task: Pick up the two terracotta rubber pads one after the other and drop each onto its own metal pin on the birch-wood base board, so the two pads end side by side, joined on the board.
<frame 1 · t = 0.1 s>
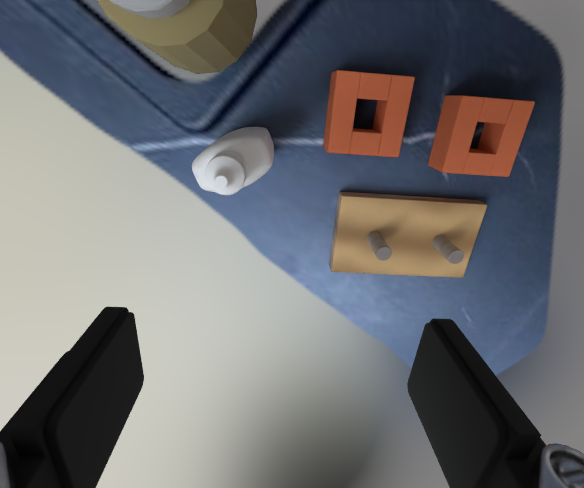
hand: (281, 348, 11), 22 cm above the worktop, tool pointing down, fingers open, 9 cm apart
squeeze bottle: (207, 17, 25), on the worktop
pad b: (467, 134, 29), on the worktop
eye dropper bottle: (242, 148, 29), on the worktop
base board: (401, 233, 33), on the worktop
pad a: (361, 114, 28), on the worktop
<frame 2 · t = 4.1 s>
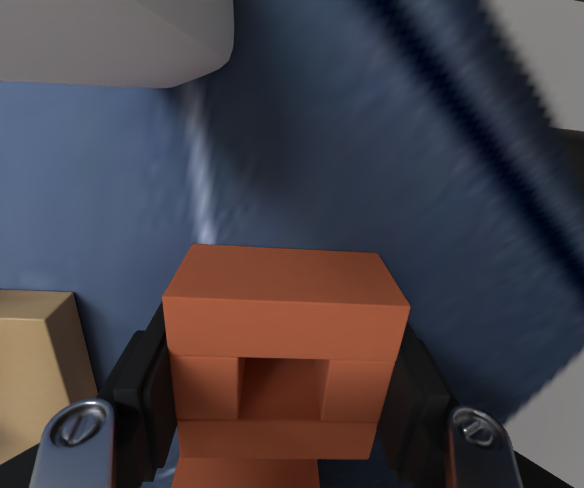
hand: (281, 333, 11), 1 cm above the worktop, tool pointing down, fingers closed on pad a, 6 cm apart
pad b: (248, 487, 16), on the worktop
base board: (8, 429, 14), on the worktop
pad a: (281, 322, 12), on the worktop, touching gripper
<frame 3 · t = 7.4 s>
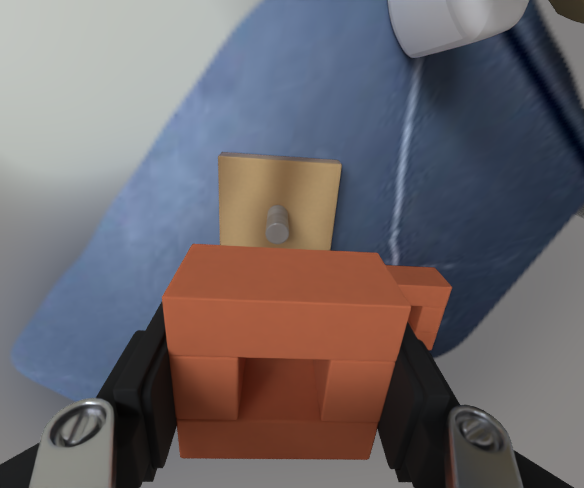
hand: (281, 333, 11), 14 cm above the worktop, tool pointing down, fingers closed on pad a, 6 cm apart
pad b: (391, 296, 27), on the worktop
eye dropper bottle: (415, 3, 19), on the worktop
base board: (275, 247, 25), on the worktop
pad a: (281, 322, 12), point 13 cm above the worktop, touching gripper
when the fingers open (2 cm above the worktop, at t = 11.0 s): pad a stays where it is, resting on base board.
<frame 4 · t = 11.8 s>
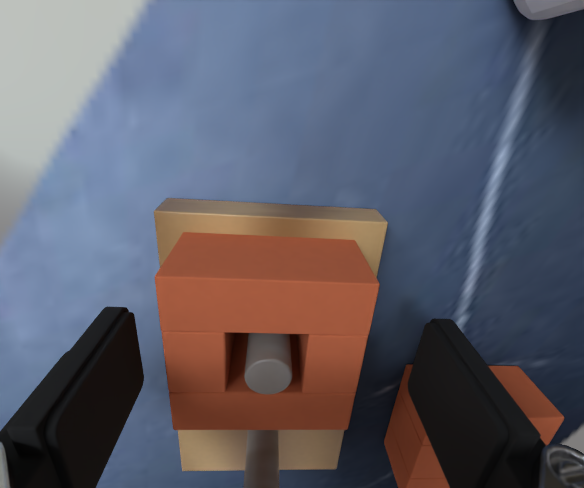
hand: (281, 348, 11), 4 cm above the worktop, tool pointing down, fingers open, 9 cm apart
pad b: (446, 405, 18), on the worktop
base board: (266, 345, 15), on the worktop
pad a: (267, 306, 13), point 1 cm above the worktop, touching base board
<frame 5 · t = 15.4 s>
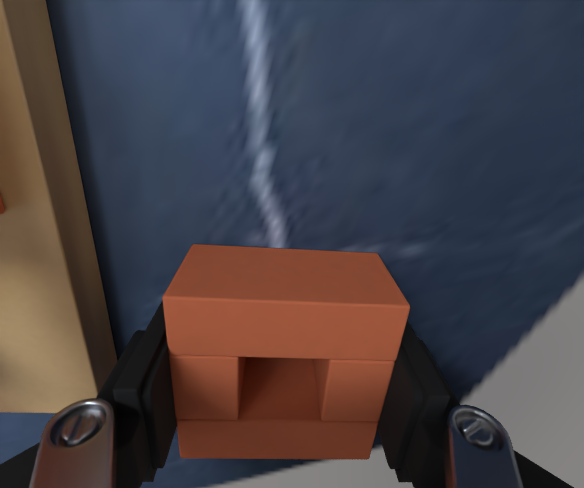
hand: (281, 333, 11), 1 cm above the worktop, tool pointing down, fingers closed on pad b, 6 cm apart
pad b: (281, 322, 12), on the worktop, touching gripper
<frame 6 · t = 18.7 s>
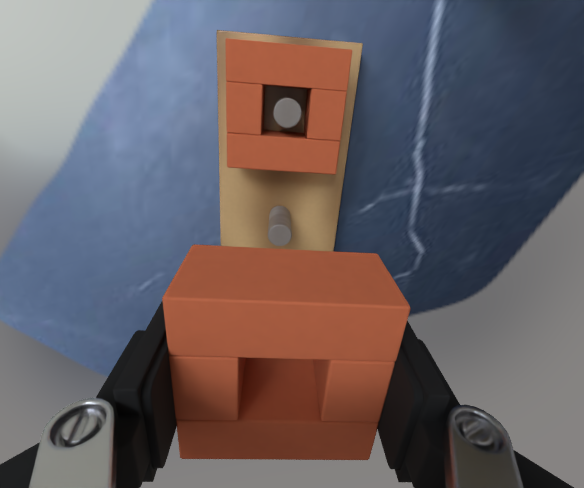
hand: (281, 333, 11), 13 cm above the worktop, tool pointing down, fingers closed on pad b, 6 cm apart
pad b: (281, 323, 12), point 13 cm above the worktop, touching gripper
base board: (282, 161, 22), on the worktop
pad a: (284, 109, 19), point 1 cm above the worktop, touching base board
when the fingers open (2 cm above the worktop, at t = 22.2 s): pad b stays where it is, resting on base board.
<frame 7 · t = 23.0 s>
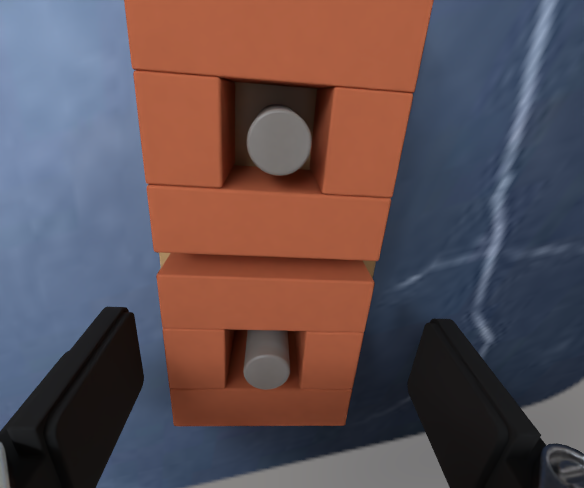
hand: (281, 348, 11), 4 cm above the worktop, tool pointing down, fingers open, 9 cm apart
pad b: (266, 305, 13), point 1 cm above the worktop, touching base board
base board: (272, 212, 13), on the worktop
pad a: (274, 128, 10), point 1 cm above the worktop, touching base board
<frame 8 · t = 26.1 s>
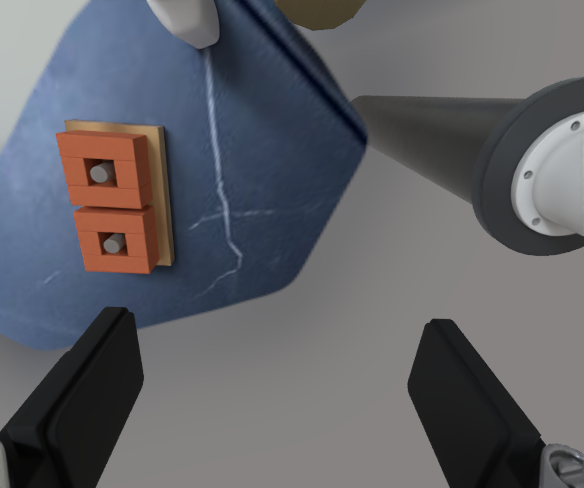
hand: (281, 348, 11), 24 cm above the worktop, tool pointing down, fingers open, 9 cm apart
pad b: (126, 232, 33), point 1 cm above the worktop, touching base board
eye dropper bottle: (195, 9, 27), on the worktop
base board: (129, 196, 33), on the worktop
pad a: (116, 166, 30), point 1 cm above the worktop, touching base board
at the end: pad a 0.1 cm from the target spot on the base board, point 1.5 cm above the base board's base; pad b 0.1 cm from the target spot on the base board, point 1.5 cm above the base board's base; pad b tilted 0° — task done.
